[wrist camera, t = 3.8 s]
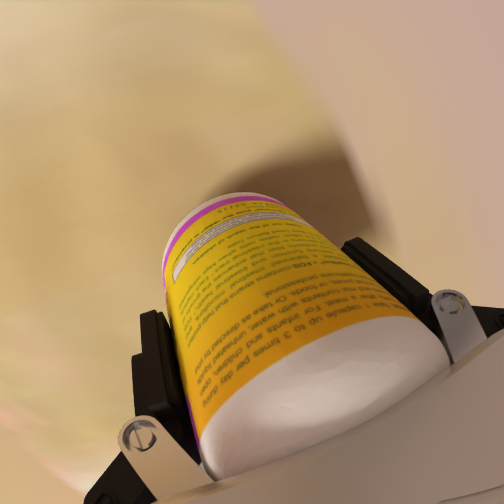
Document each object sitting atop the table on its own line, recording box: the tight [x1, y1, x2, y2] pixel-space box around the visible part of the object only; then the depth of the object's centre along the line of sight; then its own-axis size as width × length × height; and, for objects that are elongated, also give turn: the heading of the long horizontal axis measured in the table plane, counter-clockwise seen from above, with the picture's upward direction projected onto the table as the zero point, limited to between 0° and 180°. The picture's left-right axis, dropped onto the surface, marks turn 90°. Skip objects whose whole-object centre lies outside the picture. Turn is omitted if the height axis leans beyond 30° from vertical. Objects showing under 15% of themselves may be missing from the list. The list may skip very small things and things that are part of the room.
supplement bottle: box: [162, 192, 450, 482], centre depth 9 cm, size 7×7×13 cm
